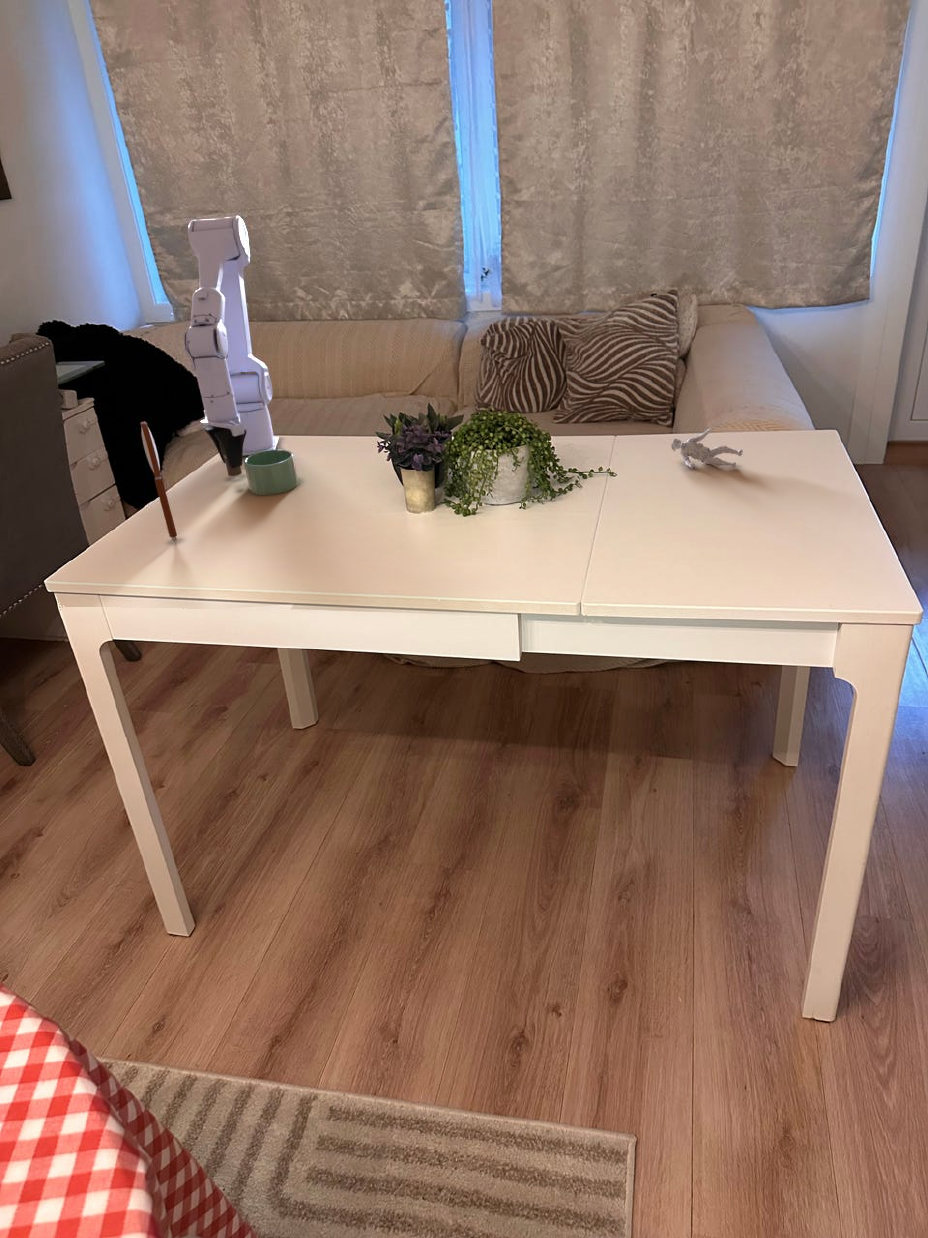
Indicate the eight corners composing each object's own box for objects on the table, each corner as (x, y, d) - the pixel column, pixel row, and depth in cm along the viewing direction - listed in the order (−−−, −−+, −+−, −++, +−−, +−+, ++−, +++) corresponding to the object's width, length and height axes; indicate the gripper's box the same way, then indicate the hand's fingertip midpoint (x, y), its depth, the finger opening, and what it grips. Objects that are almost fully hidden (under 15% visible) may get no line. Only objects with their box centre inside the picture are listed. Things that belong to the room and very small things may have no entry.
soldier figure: (726, 480, 155) (661, 453, 158) (725, 490, 159) (662, 463, 163) (747, 440, 155) (682, 414, 159) (745, 451, 160) (682, 425, 163)
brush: (227, 471, 175) (219, 436, 172) (244, 469, 175) (236, 434, 172) (225, 477, 173) (217, 441, 169) (242, 475, 173) (234, 439, 169)
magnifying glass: (183, 549, 147) (151, 428, 137) (172, 552, 146) (140, 430, 136) (177, 531, 154) (146, 414, 144) (166, 533, 153) (135, 416, 143)
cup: (253, 480, 173) (247, 452, 170) (299, 475, 173) (294, 447, 170) (247, 497, 165) (241, 468, 162) (295, 491, 165) (290, 462, 163)
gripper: (182, 391, 170) (199, 460, 177) (210, 405, 159) (227, 479, 166) (218, 382, 173) (233, 451, 180) (248, 396, 162) (263, 469, 169)
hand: (232, 464), depth 173 cm, fingers closed on brush, 3 cm apart
